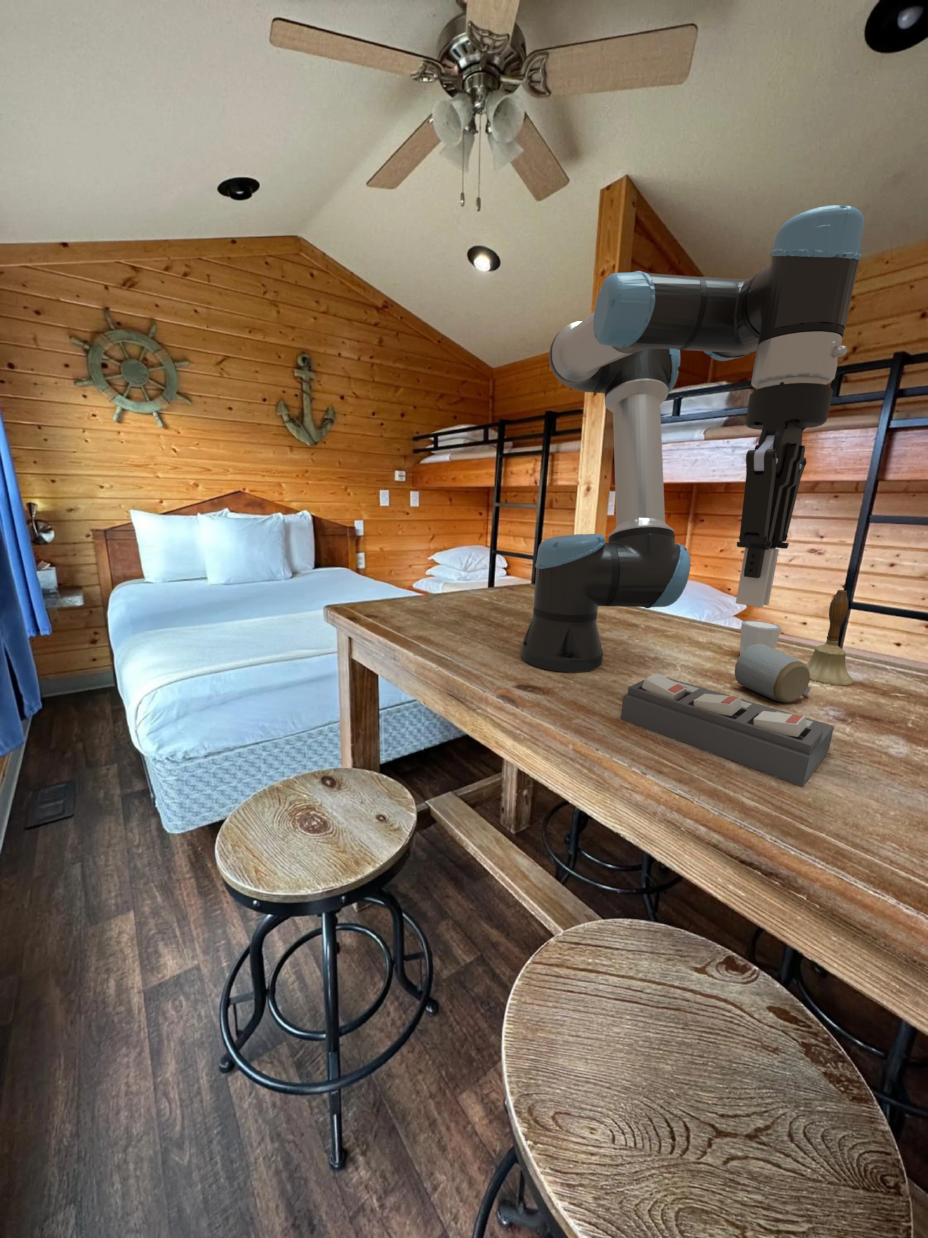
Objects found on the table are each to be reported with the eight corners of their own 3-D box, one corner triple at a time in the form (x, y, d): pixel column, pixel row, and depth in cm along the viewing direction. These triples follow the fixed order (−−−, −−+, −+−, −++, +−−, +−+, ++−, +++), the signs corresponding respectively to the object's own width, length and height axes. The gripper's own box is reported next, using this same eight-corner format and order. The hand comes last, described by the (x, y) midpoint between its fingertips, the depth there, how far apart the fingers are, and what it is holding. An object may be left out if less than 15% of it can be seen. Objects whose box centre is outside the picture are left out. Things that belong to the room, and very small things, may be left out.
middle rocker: (694, 711, 64) (693, 699, 64) (705, 703, 66) (704, 692, 66) (731, 715, 60) (730, 703, 60) (741, 708, 63) (740, 696, 63)
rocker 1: (641, 687, 69) (645, 678, 68) (654, 681, 71) (657, 672, 70) (671, 703, 66) (675, 694, 65) (683, 696, 68) (686, 687, 68)
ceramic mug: (773, 707, 75) (783, 659, 74) (729, 687, 83) (738, 643, 81) (823, 702, 79) (834, 655, 77) (776, 683, 86) (786, 640, 84)
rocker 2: (754, 730, 59) (753, 718, 59) (763, 722, 61) (763, 710, 61) (797, 736, 56) (797, 723, 55) (806, 727, 58) (805, 714, 58)
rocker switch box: (620, 718, 70) (624, 688, 69) (659, 697, 78) (663, 669, 77) (802, 787, 54) (811, 748, 53) (828, 751, 62) (836, 717, 61)
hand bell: (834, 688, 84) (855, 596, 80) (786, 672, 92) (804, 587, 88) (863, 682, 88) (885, 593, 84) (815, 667, 95) (833, 585, 91)
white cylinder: (728, 652, 102) (733, 619, 101) (759, 652, 103) (765, 620, 101) (750, 664, 96) (756, 628, 94) (783, 663, 96) (790, 629, 95)
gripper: (815, 368, 45) (768, 619, 51) (848, 394, 55) (805, 602, 61) (728, 380, 51) (694, 605, 56) (772, 401, 60) (739, 592, 66)
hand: (752, 603), depth 59 cm, fingers closed
